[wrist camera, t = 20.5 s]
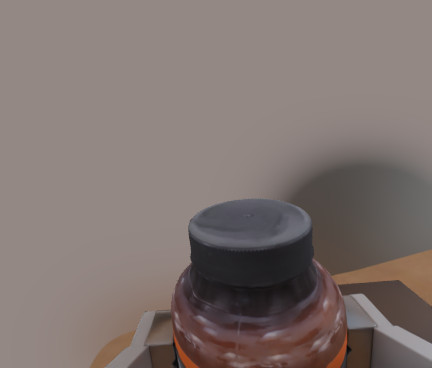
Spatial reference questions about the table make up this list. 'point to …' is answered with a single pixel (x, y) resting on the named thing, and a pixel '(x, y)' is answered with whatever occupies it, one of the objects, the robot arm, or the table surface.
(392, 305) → the lid
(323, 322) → the supplement bottle
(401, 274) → the table surface
